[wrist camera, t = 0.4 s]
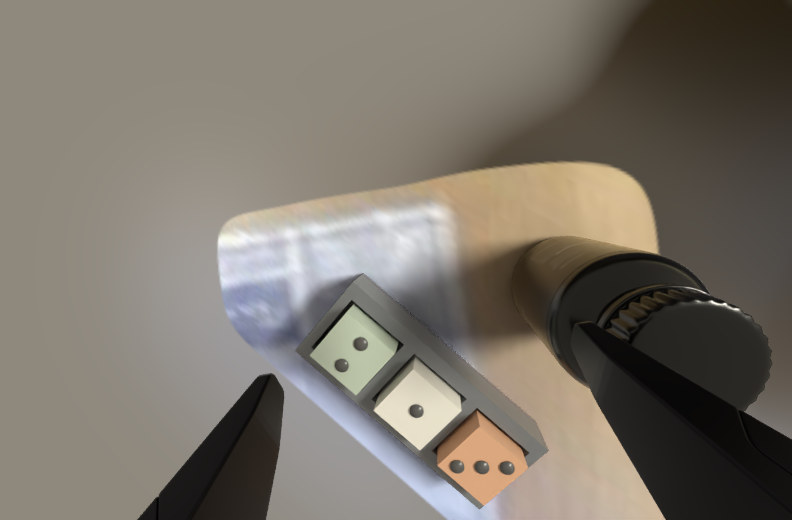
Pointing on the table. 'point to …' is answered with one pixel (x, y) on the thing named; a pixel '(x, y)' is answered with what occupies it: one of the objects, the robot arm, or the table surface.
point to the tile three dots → (481, 457)
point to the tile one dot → (418, 402)
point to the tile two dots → (355, 349)
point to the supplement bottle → (641, 313)
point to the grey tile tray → (438, 358)
